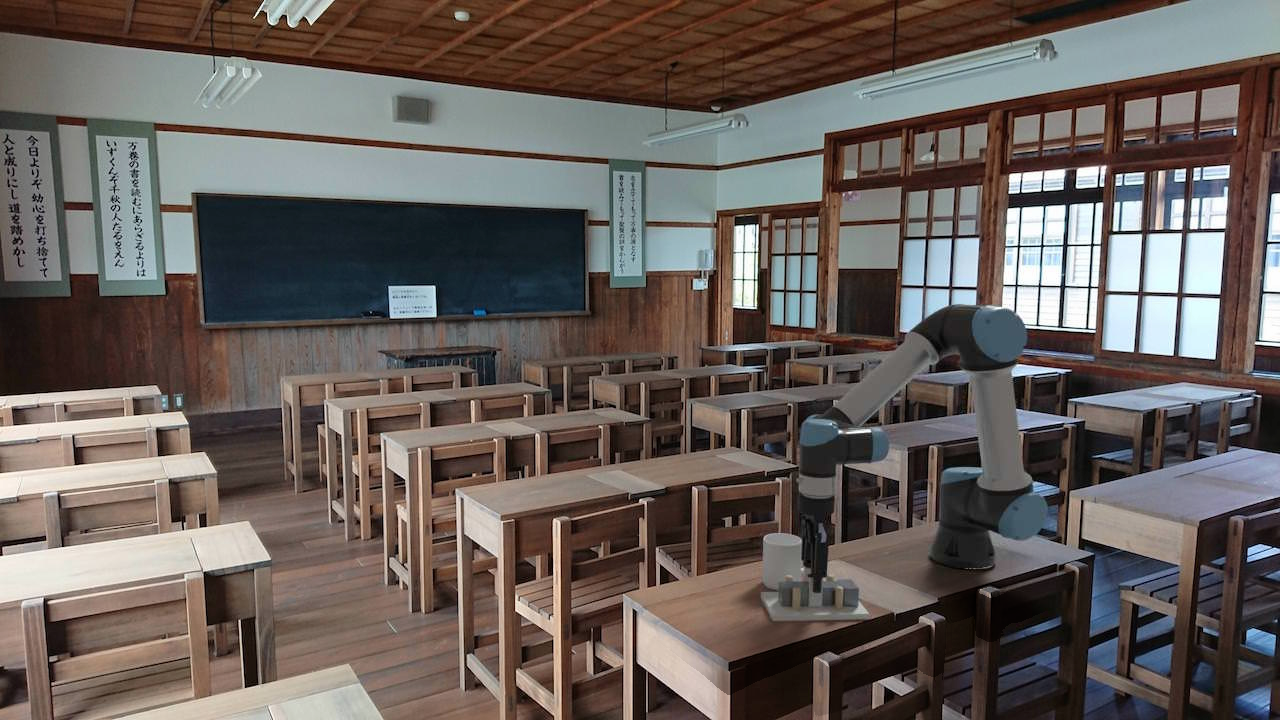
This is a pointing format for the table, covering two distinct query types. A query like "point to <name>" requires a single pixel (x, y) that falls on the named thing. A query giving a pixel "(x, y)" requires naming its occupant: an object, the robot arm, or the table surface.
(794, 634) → the table surface
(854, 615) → the rack
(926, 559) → the table surface
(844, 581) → the grey bar
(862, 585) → the table surface
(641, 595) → the table surface
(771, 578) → the mug
